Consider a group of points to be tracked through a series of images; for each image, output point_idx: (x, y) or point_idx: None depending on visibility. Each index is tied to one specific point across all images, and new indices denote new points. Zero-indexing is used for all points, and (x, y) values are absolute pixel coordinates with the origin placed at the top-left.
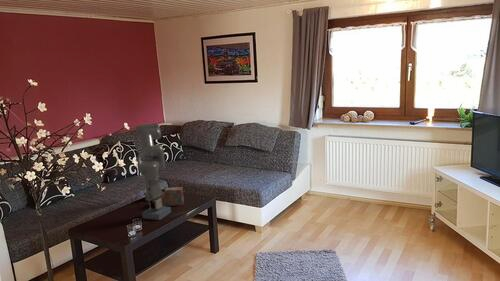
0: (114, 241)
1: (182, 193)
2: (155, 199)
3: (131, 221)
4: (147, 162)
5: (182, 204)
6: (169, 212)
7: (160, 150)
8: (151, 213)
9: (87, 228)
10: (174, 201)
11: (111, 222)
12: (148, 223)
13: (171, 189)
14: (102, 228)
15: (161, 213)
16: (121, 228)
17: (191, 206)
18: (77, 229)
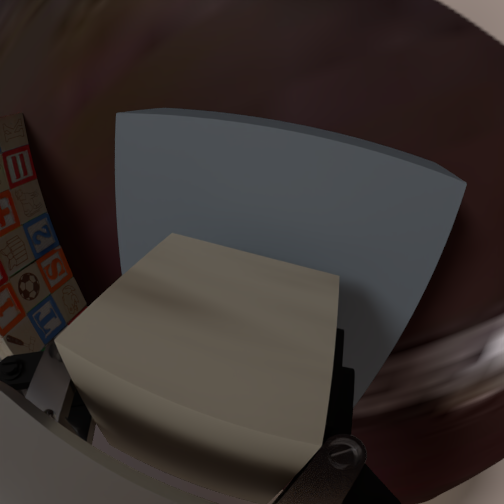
0: None
1: None
2: (182, 449)
3: (404, 409)
4: None
5: (17, 113)
6: (190, 110)
7: None
8: (400, 317)
9: (421, 491)
10: (7, 186)
11: (382, 468)
12: (501, 266)
13: None
14: (450, 465)
15: (392, 154)
16: (501, 408)
17: (38, 15)
18: (417, 500)
